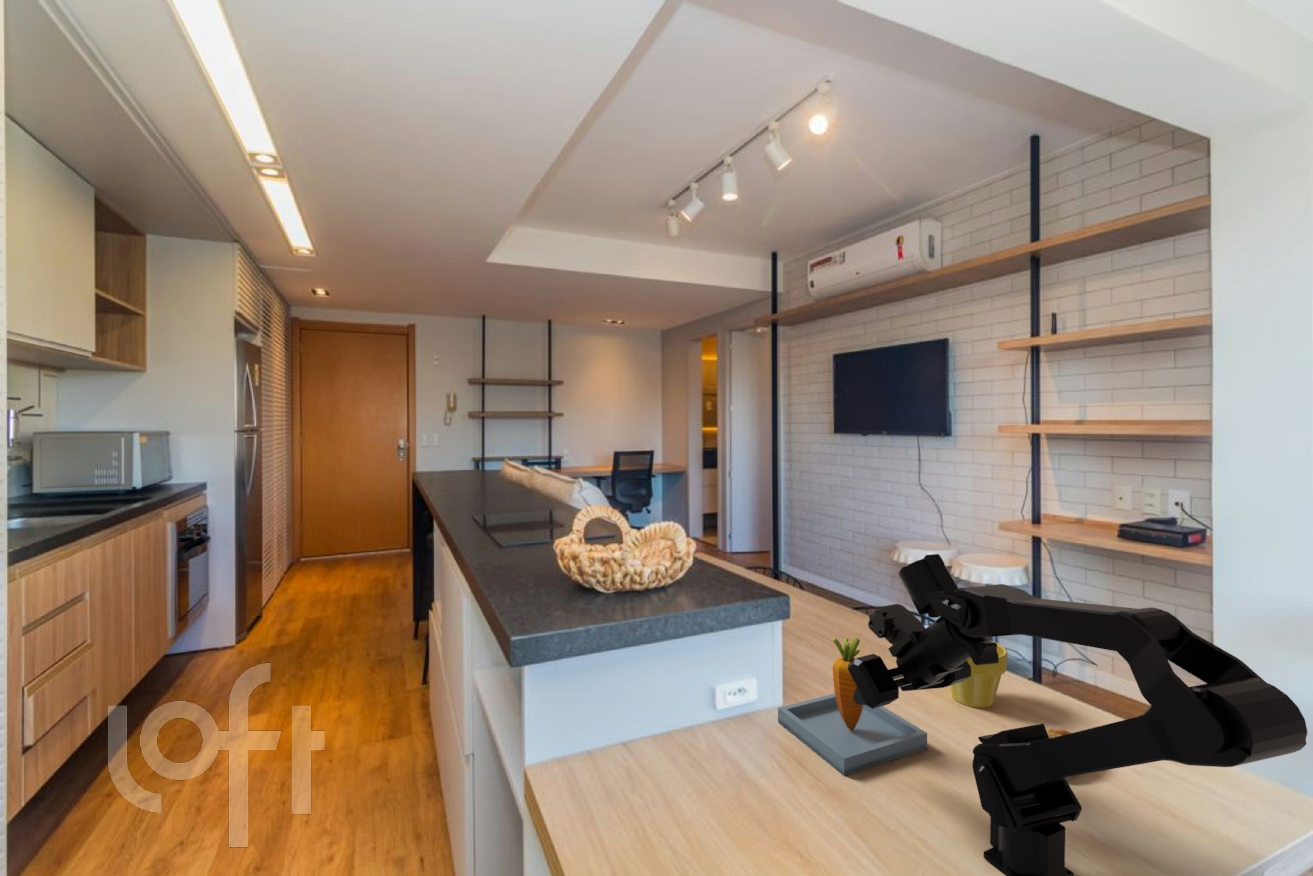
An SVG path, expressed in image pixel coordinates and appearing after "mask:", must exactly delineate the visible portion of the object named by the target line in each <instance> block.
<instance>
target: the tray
mask: <svg viewBox="0 0 1313 876" xmlns="http://www.w3.org/2000/svg"><path fill="white" fill-rule="evenodd" d="M777 723H778V724H780V726H782V727H783V728H784V729H786V730H787V731H788V732H789V733H791V734H792V735H793V736H794V737H796V738H797V739H798V740H799V741H801V742H802V743H803V744H804V745H806V746H807V747H808V748H809V749H811V751H813V752H814V753H815V754H817V755H818V756H819V757H820V758H822V760H824V761H825V762H827V764H829V765H830V766H831V767H832V768H833V769H835V770H837V771H838V772H839V773H840V774H841V775H842V776H844V777H845V776H847V775H850V774H854V773H858V772H860V771H863V770H866V769H870V768H872V767H876V766H878V765H879V766H880V765H881V764H884V763H888V762H891V761H893V760H894V761H895V760H897V759H900V758H904V757H906V756H910V755H912V754H916V753H919V752H922V751H926V750H928V733H927V731H924V730H923V729H921V728H920V727H918V726H916V725H915V724H913V723H911V722H910V721H908V720H906V719H904V718H903V717H901V716H900V715H897V714H896V713H894V712H893V711H892V710H889V709H888V708H886V707H884V706H881V707H877V708H874V709H872V708H870V707H869V706H867V705H863V709H862V713H861V716H860V718H859V721H858V723H857V725H856V727H855V729H853V730H852V731H851V730H850V729H849V728H847V726H846V724H845V722H844V721H843V719H842V716H841V714H840V712H839V708H838V705H837V701H836V696H835V693H832V694H828V695H823V696H819V697H816V698H815V697H814V698H812V699H808V700H803V701H799V702H795V703H791V704H788V705H784V706H779V707H777Z"/></svg>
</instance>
